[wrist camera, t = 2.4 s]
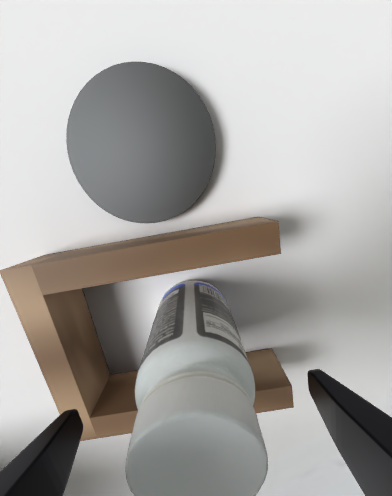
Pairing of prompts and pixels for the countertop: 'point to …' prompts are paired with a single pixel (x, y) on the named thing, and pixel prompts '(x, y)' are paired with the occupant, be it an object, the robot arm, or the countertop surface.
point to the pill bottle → (195, 403)
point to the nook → (83, 331)
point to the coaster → (141, 142)
